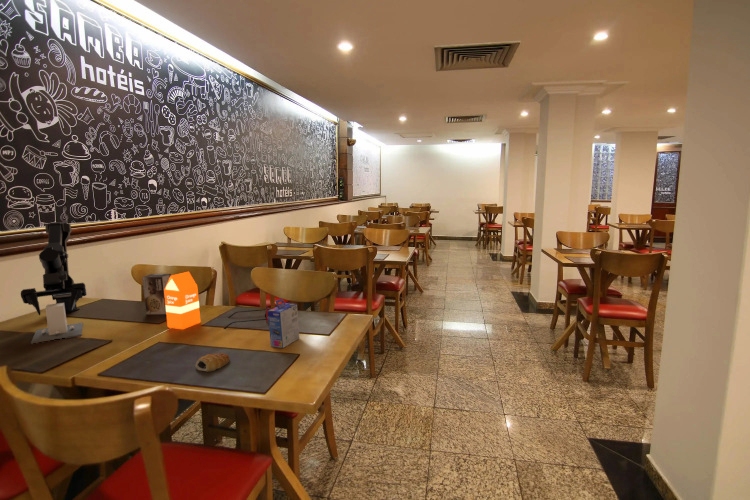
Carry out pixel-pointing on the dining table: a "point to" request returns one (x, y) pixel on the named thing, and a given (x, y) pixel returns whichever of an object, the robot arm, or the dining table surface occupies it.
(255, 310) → the glasses
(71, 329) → the locator pins
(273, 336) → the ink cartridge box
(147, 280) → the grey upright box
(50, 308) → the block
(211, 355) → the pastry
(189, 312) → the orange juice
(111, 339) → the dining table surface
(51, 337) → the mat
